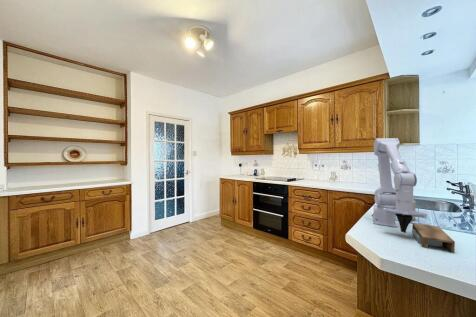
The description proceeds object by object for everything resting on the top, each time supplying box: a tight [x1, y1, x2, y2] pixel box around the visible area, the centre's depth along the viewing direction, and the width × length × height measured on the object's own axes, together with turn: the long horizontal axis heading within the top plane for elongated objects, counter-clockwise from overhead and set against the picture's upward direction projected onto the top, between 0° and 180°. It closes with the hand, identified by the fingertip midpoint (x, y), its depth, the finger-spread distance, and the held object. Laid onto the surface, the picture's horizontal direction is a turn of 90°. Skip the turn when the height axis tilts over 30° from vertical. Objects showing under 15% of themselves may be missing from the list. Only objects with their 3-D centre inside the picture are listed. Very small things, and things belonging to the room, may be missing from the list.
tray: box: [412, 229, 443, 248], centre depth 84 cm, size 7×10×3 cm
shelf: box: [411, 222, 456, 254], centre depth 83 cm, size 9×18×4 cm, turn 149°
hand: (403, 231), depth 88 cm, fingers closed
